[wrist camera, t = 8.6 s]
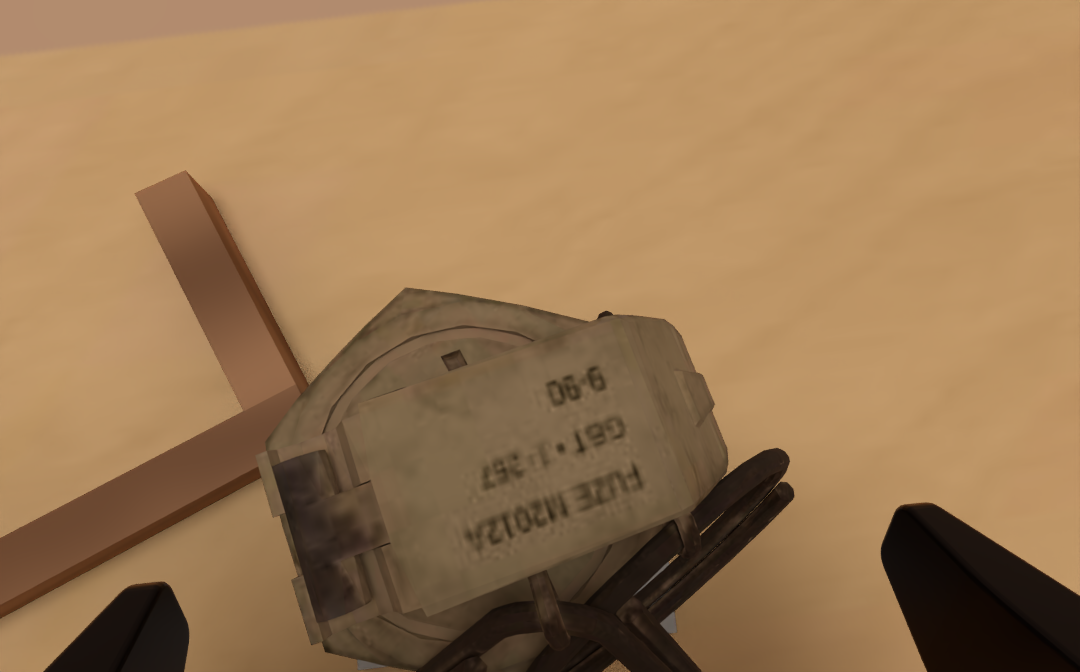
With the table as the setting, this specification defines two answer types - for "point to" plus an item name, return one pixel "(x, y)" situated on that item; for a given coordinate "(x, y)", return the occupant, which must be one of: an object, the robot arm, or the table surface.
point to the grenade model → (508, 490)
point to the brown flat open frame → (203, 461)
